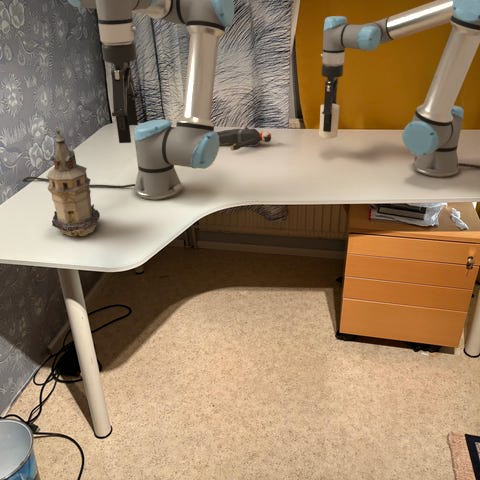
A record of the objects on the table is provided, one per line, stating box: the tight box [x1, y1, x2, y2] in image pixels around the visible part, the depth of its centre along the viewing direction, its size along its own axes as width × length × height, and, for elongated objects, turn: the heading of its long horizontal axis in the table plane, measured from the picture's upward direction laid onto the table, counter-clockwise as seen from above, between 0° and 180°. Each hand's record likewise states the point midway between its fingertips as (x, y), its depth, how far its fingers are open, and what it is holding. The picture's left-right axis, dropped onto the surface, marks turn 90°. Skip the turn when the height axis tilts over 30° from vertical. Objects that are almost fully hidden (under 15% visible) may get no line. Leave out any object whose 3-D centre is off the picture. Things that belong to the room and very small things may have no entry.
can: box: [318, 103, 340, 139], centre depth 197 cm, size 7×7×11 cm
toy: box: [215, 126, 272, 152], centre depth 216 cm, size 26×6×30 cm
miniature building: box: [46, 129, 101, 237], centre depth 148 cm, size 13×14×30 cm
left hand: (129, 133), depth 132 cm, fingers open, 13 cm apart
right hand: (328, 128), depth 198 cm, fingers closed on can, 7 cm apart
